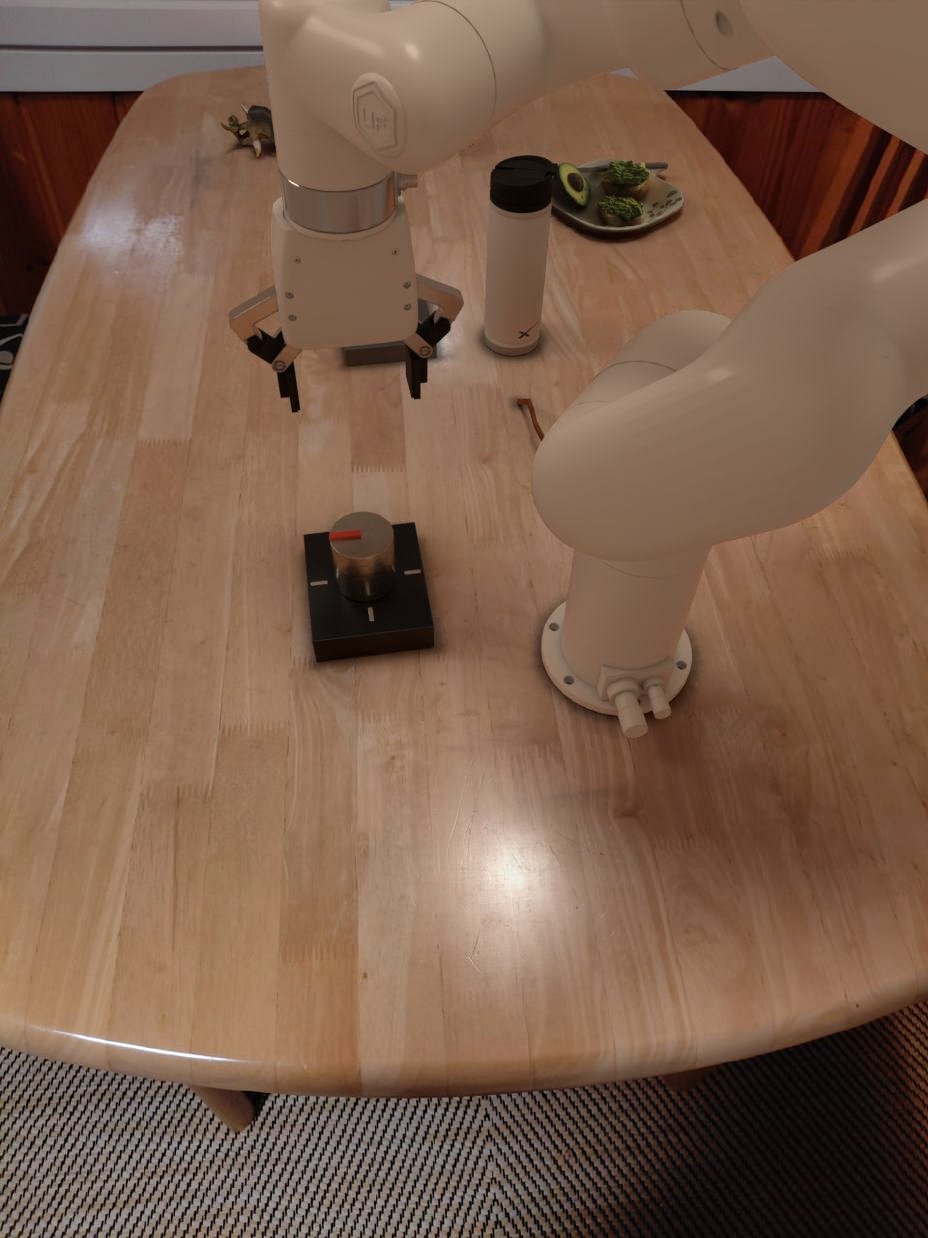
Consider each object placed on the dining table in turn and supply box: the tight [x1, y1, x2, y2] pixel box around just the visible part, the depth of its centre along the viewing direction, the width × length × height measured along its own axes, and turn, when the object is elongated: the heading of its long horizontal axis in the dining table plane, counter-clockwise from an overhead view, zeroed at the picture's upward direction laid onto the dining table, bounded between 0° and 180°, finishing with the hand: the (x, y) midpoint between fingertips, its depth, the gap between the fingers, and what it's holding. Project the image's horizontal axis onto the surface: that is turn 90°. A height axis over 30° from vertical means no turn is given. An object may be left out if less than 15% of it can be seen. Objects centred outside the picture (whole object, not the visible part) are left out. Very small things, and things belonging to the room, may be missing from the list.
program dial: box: [329, 511, 397, 602], centre depth 77 cm, size 5×5×6 cm
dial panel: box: [303, 521, 435, 663], centre depth 81 cm, size 12×10×3 cm
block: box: [343, 298, 438, 367], centre depth 104 cm, size 12×10×4 cm
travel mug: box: [483, 154, 559, 357], centre depth 97 cm, size 6×7×20 cm
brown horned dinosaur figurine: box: [219, 103, 275, 158], centre depth 129 cm, size 8×7×9 cm
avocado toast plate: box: [551, 157, 685, 241], centre depth 122 cm, size 19×18×5 cm
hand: (354, 394), depth 75 cm, fingers open, 9 cm apart
